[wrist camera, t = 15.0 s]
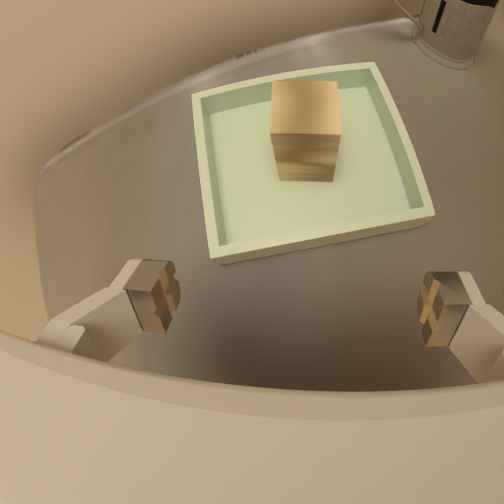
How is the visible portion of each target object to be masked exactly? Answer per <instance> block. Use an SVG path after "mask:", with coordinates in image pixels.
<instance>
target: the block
mask: <svg viewBox="0 0 504 504" xmlns="http://www.w3.org/2000/svg"><path fill="white" fill-rule="evenodd" d="M270 137H271V142H272V146H273V151H274V155H275V160H276V165H277V170H278V174H279V179H280V181H312V182H333V177H334V171H335V166H336V161H337V155H338V150H339V144H340V139H341V125H340V112H339V100H338V89H337V81H272V94H271V117H270Z"/></svg>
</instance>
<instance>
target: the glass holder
mask: <svg viewBox="0 0 504 504" xmlns="http://www.w3.org/2000/svg"><path fill="white" fill-rule="evenodd" d="M392 1H393V3H394V4H395V5H396V6H397V7H398V8H399V9H400V10H401V11H402V12H403V13H404V14H405V15H406V16H407V17H409V18H410V19H411V20H412V21H413V22H414V23H415V24H416V25H415V26H414V27H413V29H412V38H413V41H414V43H415V44H416V45H417V47H418V48H419V49H420V50H421V51H422V52H423V53H424V54H425V55H426V56H428V57H429V58H431V59H432V60H434V61H435V62H437V63H439V64H441V65H443V66H446V67H449V68H452V69H458V70H464V69H468V68H469V67H471V66H472V65H473V62H474V53H475V51H476V49H477V47H478V45H479V43H480V41H481V39H482V37H483V35H484V33H485V31H486V29H487V27H488V25H489V23H490V21H491V19H492V17H493V15H494V13H495V11H496V8H497V6H498V4H499V2H500V0H424V4H423V7H422V11H421V14H420V18H419V21H417V20H416V19H415V18H414V17H413V16H411V15H410V14H409V13H408V12H406V10H404V9H403V8H402V7H401V6H400V5H399V3H398V2H397V1H396V0H392Z"/></svg>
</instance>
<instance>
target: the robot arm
mask: <svg viewBox="0 0 504 504" xmlns="http://www.w3.org/2000/svg"><path fill="white" fill-rule="evenodd" d="M175 272H176V270H175V267H174V263H173V262H171V261H164V260H151V259H135V258H132V259H129V260H128V262H127V263H126V264H125V266H124V267H123V268H122V270H121V271H120V273H119V274H118V275H117V277H116V278H115V280H114V281H113V283H112V284H111V285H110V287H109V288H104V289H102V290H100V291H98V292H97V293H95V294H93V295H91V296H90V297H88V298H86V299H84V300H83V301H81V302H79V303H78V304H76V305H74V306H73V307H71V308H69V309H67V310H66V311H64V312H62V313H61V314H59V315H57V316H56V317H54V318H52V320H51V321H50V322H49V324H48V325H47V327H46V328H45V330H44V331H43V333H42V334H41V335H40V337H39V339H38V340H37V341H36V342H33V341H30V340H27V339H24V338H21V337H18V336H16V335H13V334H10V333H7V332H4V331H2V330H0V504H504V315H502V314H501V313H500V312H499V311H497V310H496V309H495V308H494V307H492V306H491V305H490V304H488V305H486V303H485V301H484V299H483V297H482V295H481V293H480V291H479V289H478V287H477V285H476V283H475V281H474V279H473V277H472V275H471V273H470V272H468V271H455V272H446V271H428V272H427V273H426V275H425V278H424V281H423V282H424V284H425V288H424V289H423V290H422V291H420V293H419V297H418V300H417V315H418V319H419V321H420V322H421V323H422V324H423V325H424V326H423V329H422V334H423V338H424V342H425V346H426V347H433V346H449V347H448V348H449V349H450V350H451V351H452V353H453V354H454V355H455V356H456V357H457V358H458V360H459V361H460V362H461V363H462V365H463V366H464V367H465V368H466V369H467V371H468V372H469V373H470V374H471V376H472V377H473V378H474V379H475V381H476V382H477V383H478V384H471V385H462V386H453V387H443V388H432V389H418V390H400V391H364V392H344V391H308V390H289V389H275V388H263V387H252V386H242V385H233V384H225V383H217V382H209V381H202V380H195V379H189V378H183V377H177V376H171V375H165V374H160V373H154V372H149V371H144V370H139V369H134V368H130V367H125V366H121V365H116V364H112V363H108V361H109V360H110V359H111V358H113V357H114V356H115V355H116V354H117V353H118V352H120V351H121V350H122V349H123V348H124V347H126V346H127V345H128V344H129V343H130V342H132V341H133V340H134V339H135V338H136V337H137V336H139V335H140V334H141V333H142V332H143V331H150V332H159V333H166V331H167V329H168V327H169V325H170V322H171V320H172V317H171V312H173V311H174V310H176V309H177V307H178V304H179V301H180V295H181V294H180V285H179V282H178V281H177V280H176V279H175V278H174V277H173V276H174V274H175Z"/></svg>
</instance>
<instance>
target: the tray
mask: <svg viewBox="0 0 504 504" xmlns="http://www.w3.org/2000/svg"><path fill="white" fill-rule="evenodd" d="M272 81H337V89H338V100H339V112H340V125H341V139H340V144H339V150H338V155H337V161H336V166H335V171H334V177H333V182H312V181H280V179H279V174H278V170H277V165H276V160H275V155H274V151H273V146H272V142H271V137H270V117H271V94H272ZM191 95H192V106H193V117H194V127H195V137H196V147H197V156H198V165H199V174H200V183H201V191H202V199H203V207H204V215H205V223H206V231H207V238H208V246H209V253H210V259H212V260H214V261H215V262H217V263H219V264H221V265H225V264H230V263H235V262H241V261H246V260H251V259H256V258H262V257H267V256H272V255H277V254H283V253H288V252H293V251H298V250H303V249H308V248H314V247H319V246H324V245H329V244H334V243H339V242H344V241H350V240H355V239H360V238H365V237H370V236H375V235H380V234H385V233H390V232H395V231H400V230H405V229H410V228H415V227H420V226H422V225H423V224H425V223H426V222H427V221H429V220H430V219H431V218H432V217H434V216H435V212H434V208H433V205H432V201H431V198H430V195H429V192H428V189H427V185H426V182H425V179H424V176H423V173H422V171H421V168H420V165H419V162H418V159H417V157H416V154H415V151H414V149H413V146H412V143H411V141H410V138H409V136H408V133H407V131H406V128H405V126H404V124H403V121H402V119H401V116H400V114H399V112H398V110H397V107H396V105H395V103H394V101H393V99H392V96H391V94H390V92H389V90H388V88H387V86H386V84H385V82H384V80H383V78H382V76H381V74H380V72H379V70H378V68H377V66H376V64H375V62H367V63H355V64H344V65H335V66H327V67H319V68H312V69H305V70H298V71H292V72H286V73H281V74H275V75H270V76H265V77H260V78H255V79H250V80H246V81H241V82H237V83H233V84H229V85H225V86H221V87H217V88H213V89H209V90H205V91H202V92H198V93H195V94H191Z"/></svg>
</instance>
